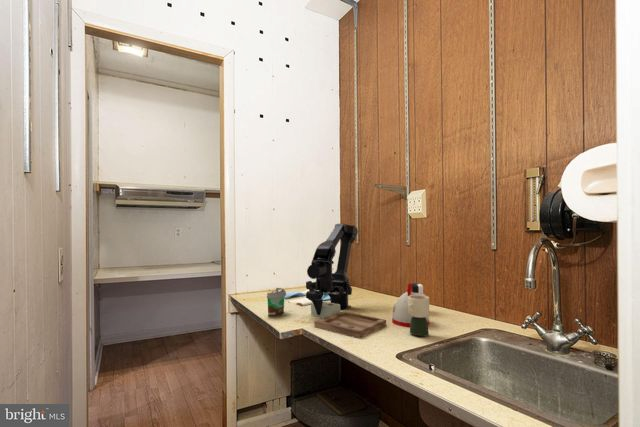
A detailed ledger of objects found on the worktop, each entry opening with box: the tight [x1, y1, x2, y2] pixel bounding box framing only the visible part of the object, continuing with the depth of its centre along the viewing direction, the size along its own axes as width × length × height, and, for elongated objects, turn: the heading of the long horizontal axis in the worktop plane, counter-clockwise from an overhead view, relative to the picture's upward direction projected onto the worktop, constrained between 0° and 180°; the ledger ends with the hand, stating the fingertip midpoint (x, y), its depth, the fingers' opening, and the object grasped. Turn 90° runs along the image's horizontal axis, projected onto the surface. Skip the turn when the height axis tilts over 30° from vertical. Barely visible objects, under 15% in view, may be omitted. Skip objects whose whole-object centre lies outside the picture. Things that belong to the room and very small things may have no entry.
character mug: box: [408, 295, 430, 337], centre depth 117 cm, size 11×7×13 cm, turn 127°
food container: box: [266, 287, 287, 318], centre depth 146 cm, size 12×6×10 cm, turn 168°
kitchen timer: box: [391, 282, 430, 329], centre depth 132 cm, size 14×14×15 cm
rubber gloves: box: [285, 289, 330, 307], centre depth 180 cm, size 27×33×6 cm
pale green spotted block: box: [310, 300, 341, 318], centre depth 143 cm, size 6×11×5 cm, turn 49°
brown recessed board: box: [314, 310, 387, 339], centre depth 128 cm, size 18×20×2 cm
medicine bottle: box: [411, 283, 426, 296], centre depth 148 cm, size 7×7×12 cm
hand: (325, 312), depth 143 cm, fingers open, 9 cm apart
